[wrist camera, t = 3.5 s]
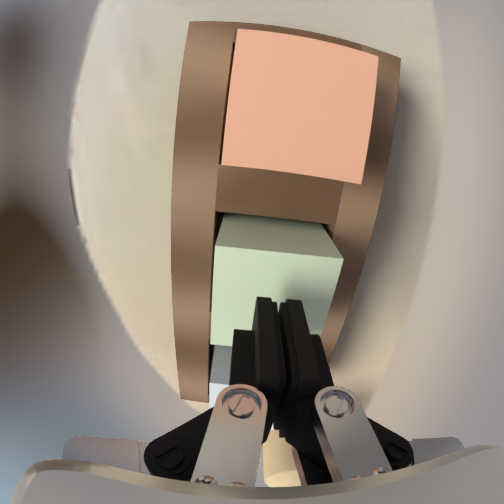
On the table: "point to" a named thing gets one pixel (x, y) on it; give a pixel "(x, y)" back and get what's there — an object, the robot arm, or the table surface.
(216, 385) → the greyblue button
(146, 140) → the table surface
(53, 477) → the robot arm
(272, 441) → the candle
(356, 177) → the terracotta button
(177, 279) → the button panel
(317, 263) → the sage button
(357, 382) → the table surface
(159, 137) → the table surface
